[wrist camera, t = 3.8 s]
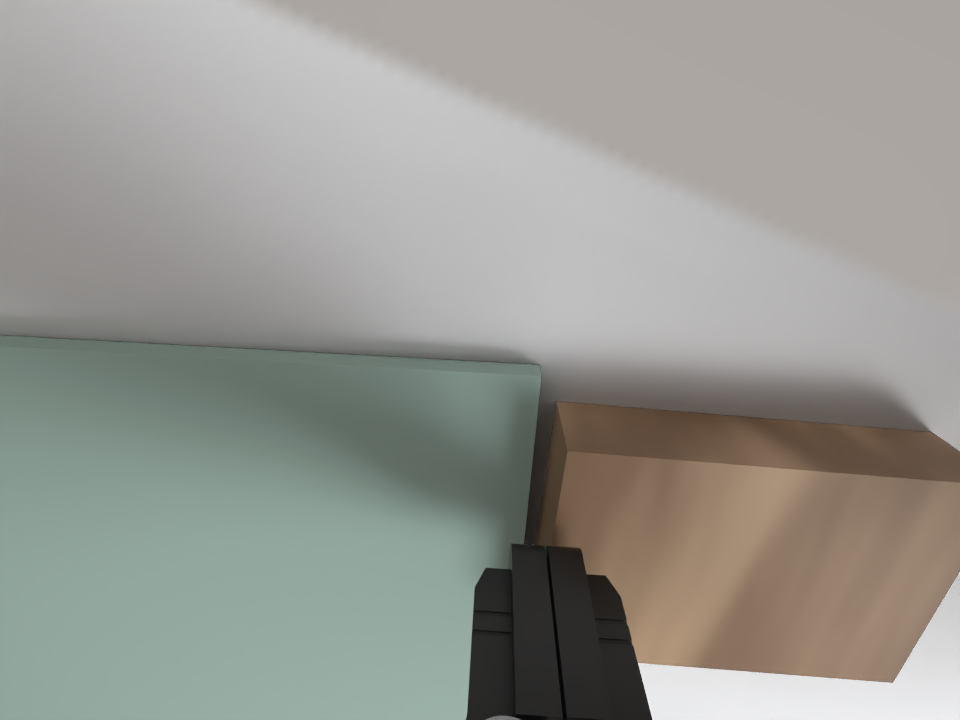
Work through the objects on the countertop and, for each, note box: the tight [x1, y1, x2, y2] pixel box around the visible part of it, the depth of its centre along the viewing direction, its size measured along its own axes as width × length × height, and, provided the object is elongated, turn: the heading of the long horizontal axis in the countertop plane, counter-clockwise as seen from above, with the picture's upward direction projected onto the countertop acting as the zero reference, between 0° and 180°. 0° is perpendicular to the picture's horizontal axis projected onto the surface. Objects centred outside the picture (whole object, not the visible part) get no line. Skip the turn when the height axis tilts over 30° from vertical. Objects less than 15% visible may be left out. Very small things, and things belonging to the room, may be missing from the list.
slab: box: [534, 401, 960, 683], centre depth 13 cm, size 2×6×9 cm
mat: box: [0, 335, 542, 720], centre depth 15 cm, size 17×14×1 cm
